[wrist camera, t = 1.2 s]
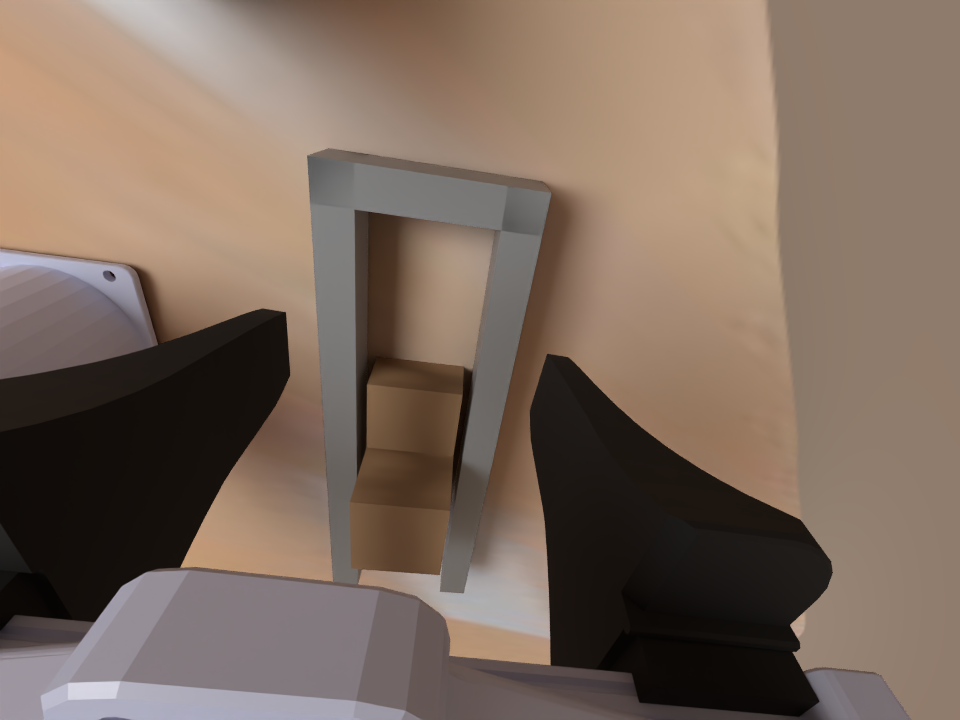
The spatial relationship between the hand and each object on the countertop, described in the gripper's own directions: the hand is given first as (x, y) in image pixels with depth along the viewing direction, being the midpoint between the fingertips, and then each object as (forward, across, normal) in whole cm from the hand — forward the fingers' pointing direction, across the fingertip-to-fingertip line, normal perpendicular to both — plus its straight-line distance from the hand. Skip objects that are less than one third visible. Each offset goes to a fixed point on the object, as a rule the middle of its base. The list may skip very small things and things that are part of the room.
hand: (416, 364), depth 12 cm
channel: (+9, 0, +10) cm, 13 cm away
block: (+9, 0, +10) cm, 13 cm away
